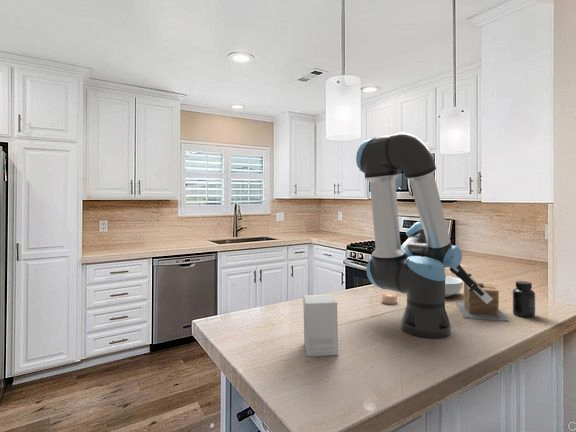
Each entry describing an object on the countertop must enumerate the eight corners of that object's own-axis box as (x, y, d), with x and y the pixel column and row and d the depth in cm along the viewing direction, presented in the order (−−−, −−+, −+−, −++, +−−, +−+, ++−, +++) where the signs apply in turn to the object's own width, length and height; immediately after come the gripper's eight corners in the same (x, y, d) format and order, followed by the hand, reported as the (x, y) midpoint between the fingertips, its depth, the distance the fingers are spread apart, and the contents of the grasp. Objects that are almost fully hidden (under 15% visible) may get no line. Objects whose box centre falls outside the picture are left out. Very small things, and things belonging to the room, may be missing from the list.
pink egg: (397, 304, 139) (397, 297, 138) (381, 303, 140) (381, 296, 140) (397, 300, 144) (397, 293, 144) (382, 299, 146) (382, 292, 146)
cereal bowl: (451, 302, 141) (451, 285, 141) (414, 294, 154) (414, 278, 153) (469, 294, 152) (469, 278, 151) (433, 287, 165) (433, 273, 164)
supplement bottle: (530, 312, 126) (531, 280, 126) (538, 318, 120) (539, 285, 119) (509, 311, 128) (509, 279, 128) (516, 317, 122) (516, 284, 121)
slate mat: (509, 321, 118) (509, 320, 118) (464, 317, 122) (464, 316, 122) (495, 306, 135) (495, 305, 135) (456, 303, 139) (456, 302, 139)
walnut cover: (498, 315, 122) (498, 287, 122) (468, 313, 125) (468, 285, 125) (491, 307, 132) (491, 281, 131) (463, 305, 135) (464, 280, 134)
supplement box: (333, 342, 103) (332, 293, 103) (338, 355, 94) (338, 302, 94) (303, 343, 103) (302, 294, 102) (306, 356, 94) (305, 303, 93)
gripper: (453, 253, 119) (502, 299, 115) (445, 244, 142) (486, 282, 138) (437, 267, 121) (484, 313, 117) (431, 256, 144) (471, 293, 140)
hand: (485, 296), depth 127 cm, fingers open, 13 cm apart
